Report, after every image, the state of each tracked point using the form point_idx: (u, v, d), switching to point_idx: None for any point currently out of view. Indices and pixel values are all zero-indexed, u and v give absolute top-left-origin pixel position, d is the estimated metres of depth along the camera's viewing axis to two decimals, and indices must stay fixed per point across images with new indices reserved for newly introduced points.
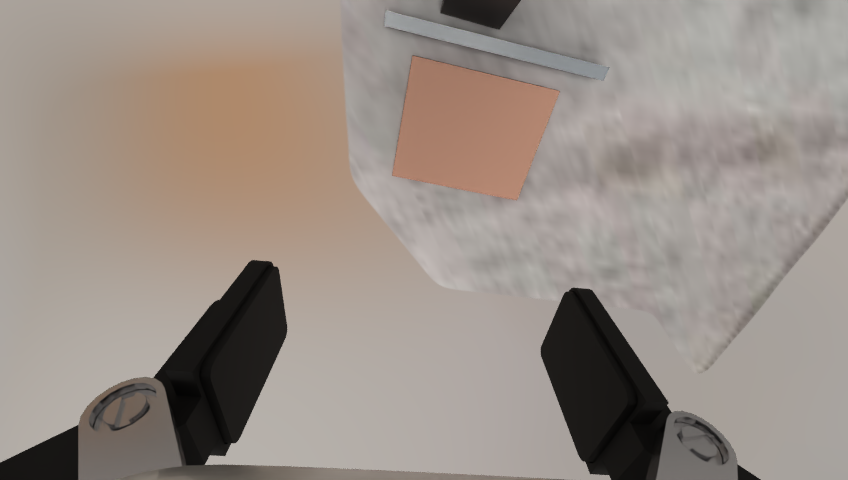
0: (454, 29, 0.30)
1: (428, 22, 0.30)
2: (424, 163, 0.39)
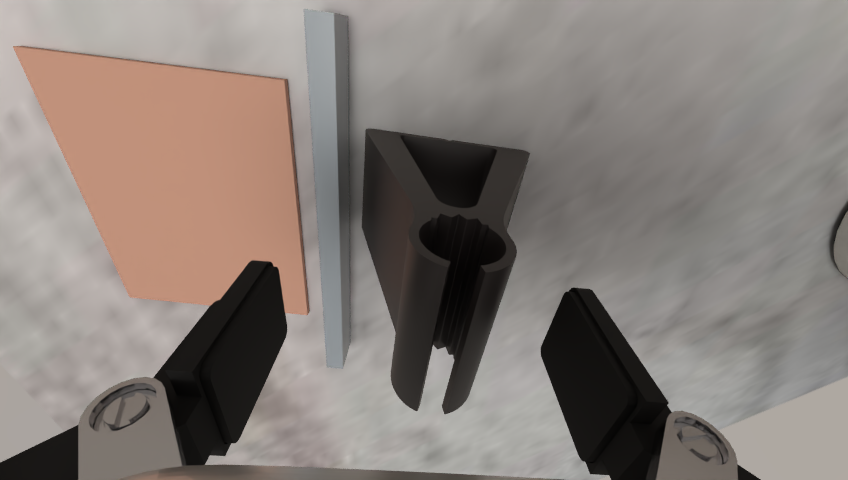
0: (335, 167, 0.16)
1: (334, 116, 0.15)
2: (91, 126, 0.18)
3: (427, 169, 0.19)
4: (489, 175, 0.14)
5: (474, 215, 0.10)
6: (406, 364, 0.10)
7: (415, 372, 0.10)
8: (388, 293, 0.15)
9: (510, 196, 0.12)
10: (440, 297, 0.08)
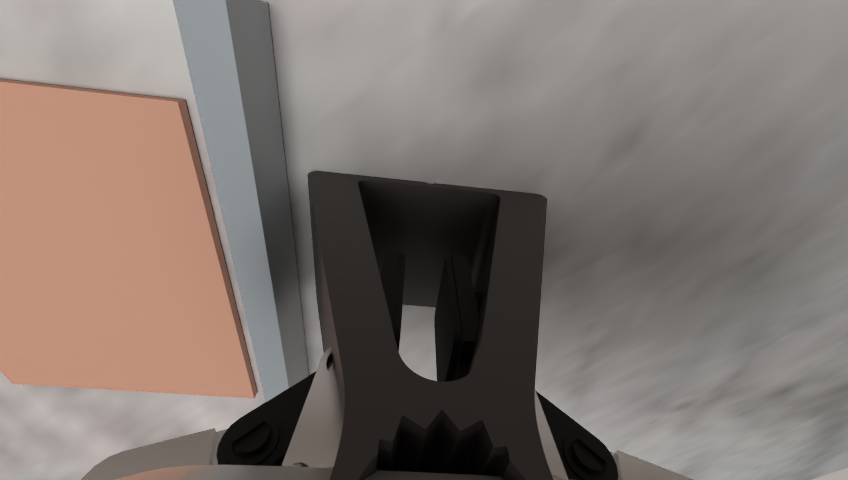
0: (259, 233, 0.11)
1: (248, 161, 0.10)
2: None
3: (401, 224, 0.13)
4: (494, 261, 0.08)
5: (475, 407, 0.05)
6: None
7: None
8: None
9: (536, 319, 0.07)
10: None
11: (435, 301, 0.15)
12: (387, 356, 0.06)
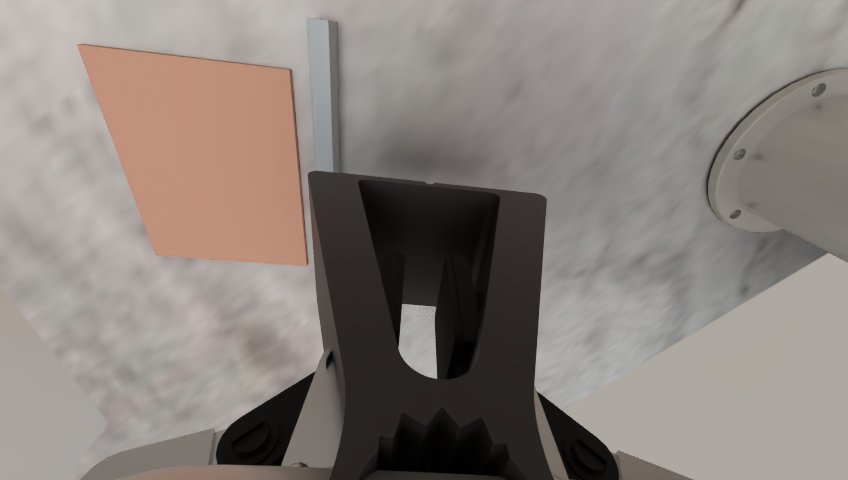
0: (329, 135, 0.22)
1: (328, 95, 0.21)
2: (134, 107, 0.23)
3: (401, 223, 0.13)
4: (494, 260, 0.08)
5: (474, 404, 0.05)
6: None
7: None
8: None
9: (536, 318, 0.07)
10: None
11: (434, 301, 0.15)
12: (387, 354, 0.06)
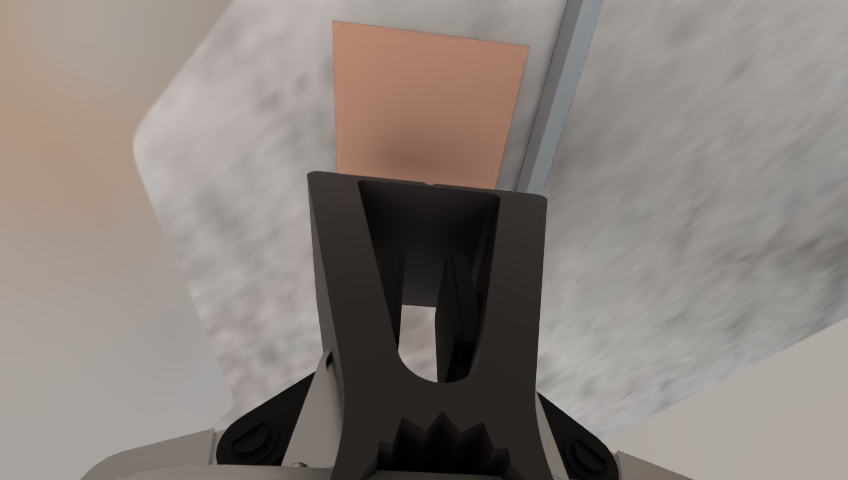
0: (566, 111, 0.22)
1: (579, 70, 0.21)
2: (367, 84, 0.23)
3: (401, 224, 0.13)
4: (494, 261, 0.08)
5: (475, 408, 0.05)
6: None
7: None
8: None
9: (537, 320, 0.07)
10: None
11: (434, 302, 0.15)
12: (387, 357, 0.06)
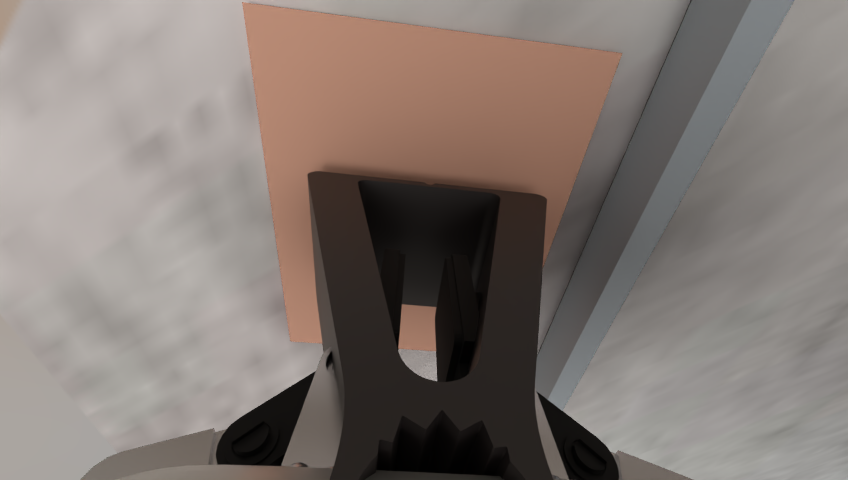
0: (692, 175, 0.12)
1: (734, 101, 0.10)
2: (319, 121, 0.13)
3: (401, 224, 0.13)
4: (494, 261, 0.08)
5: (475, 407, 0.05)
6: None
7: None
8: None
9: (536, 319, 0.07)
10: None
11: (434, 301, 0.15)
12: (387, 356, 0.06)
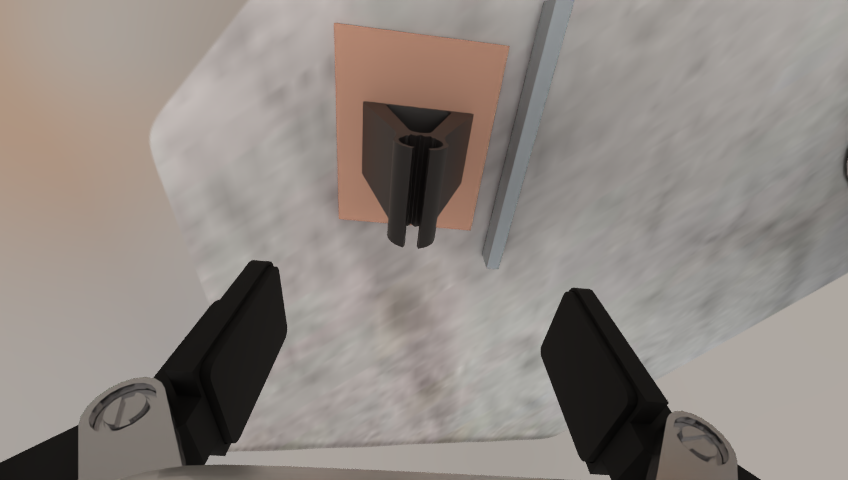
0: (543, 103, 0.25)
1: (554, 67, 0.24)
2: (365, 80, 0.26)
3: None
4: (442, 122, 0.23)
5: (429, 135, 0.19)
6: (395, 216, 0.19)
7: (400, 219, 0.19)
8: (383, 200, 0.23)
9: (452, 130, 0.21)
10: (410, 166, 0.17)
11: None
12: (405, 129, 0.20)
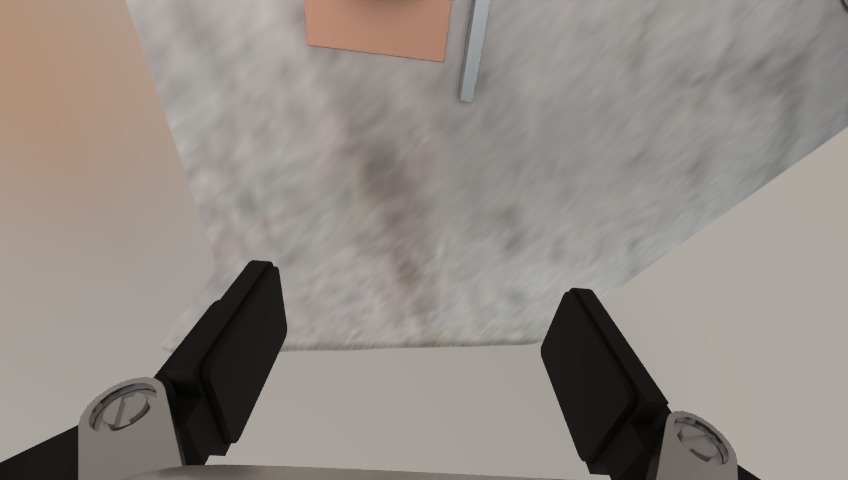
0: None
1: None
2: None
3: None
4: None
5: None
6: None
7: None
8: None
9: None
10: None
11: None
12: None
